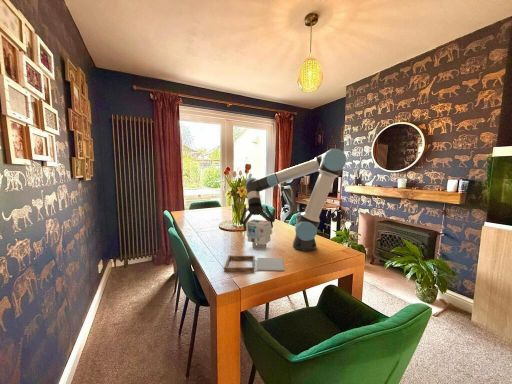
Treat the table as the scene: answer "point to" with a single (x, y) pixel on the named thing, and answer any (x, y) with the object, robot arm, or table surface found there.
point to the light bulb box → (259, 231)
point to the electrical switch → (259, 245)
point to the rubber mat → (270, 264)
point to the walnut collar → (239, 269)
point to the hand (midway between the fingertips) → (259, 234)
